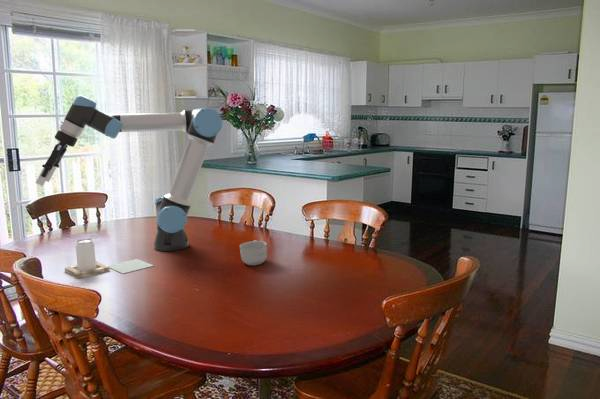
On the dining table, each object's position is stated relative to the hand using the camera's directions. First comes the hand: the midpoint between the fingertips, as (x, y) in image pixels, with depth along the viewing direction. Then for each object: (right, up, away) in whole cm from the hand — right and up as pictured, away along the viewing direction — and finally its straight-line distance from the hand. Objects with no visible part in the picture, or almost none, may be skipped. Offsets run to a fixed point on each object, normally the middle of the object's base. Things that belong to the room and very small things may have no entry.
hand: (42, 182), depth 191 cm
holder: (+17, -34, 0) cm, 38 cm away
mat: (+32, -33, +5) cm, 46 cm away
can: (+17, -34, 0) cm, 38 cm away
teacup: (+81, -32, +10) cm, 87 cm away
